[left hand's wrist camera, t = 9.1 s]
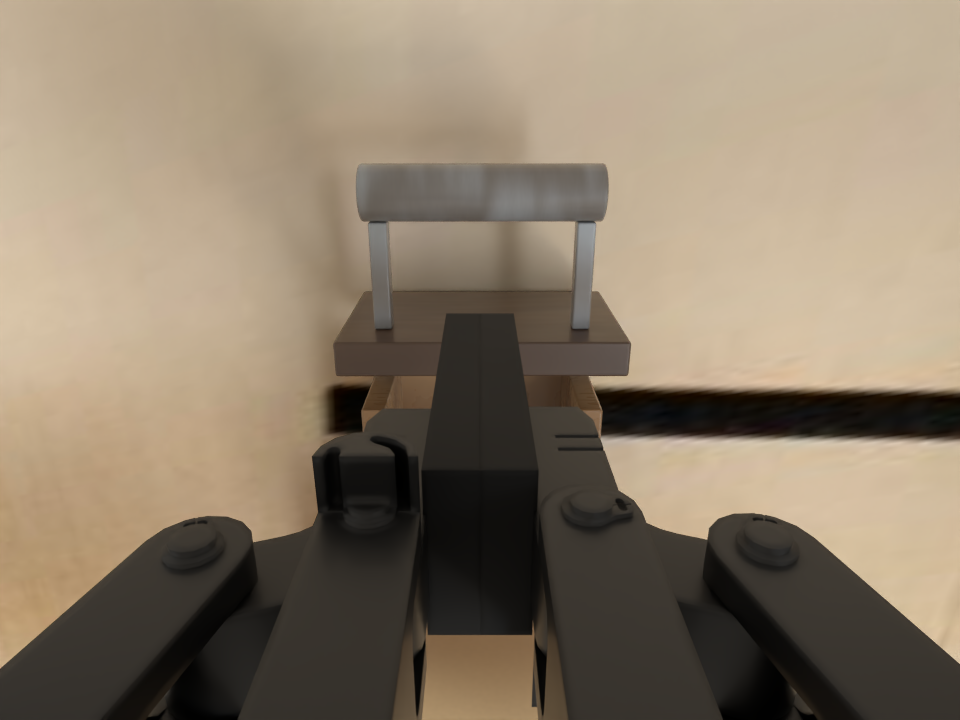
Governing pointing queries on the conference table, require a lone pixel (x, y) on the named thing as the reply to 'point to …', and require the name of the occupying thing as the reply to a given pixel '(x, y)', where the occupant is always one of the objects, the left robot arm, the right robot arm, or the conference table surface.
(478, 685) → the cabinet
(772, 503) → the conference table surface
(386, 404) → the drawer
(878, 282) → the conference table surface
